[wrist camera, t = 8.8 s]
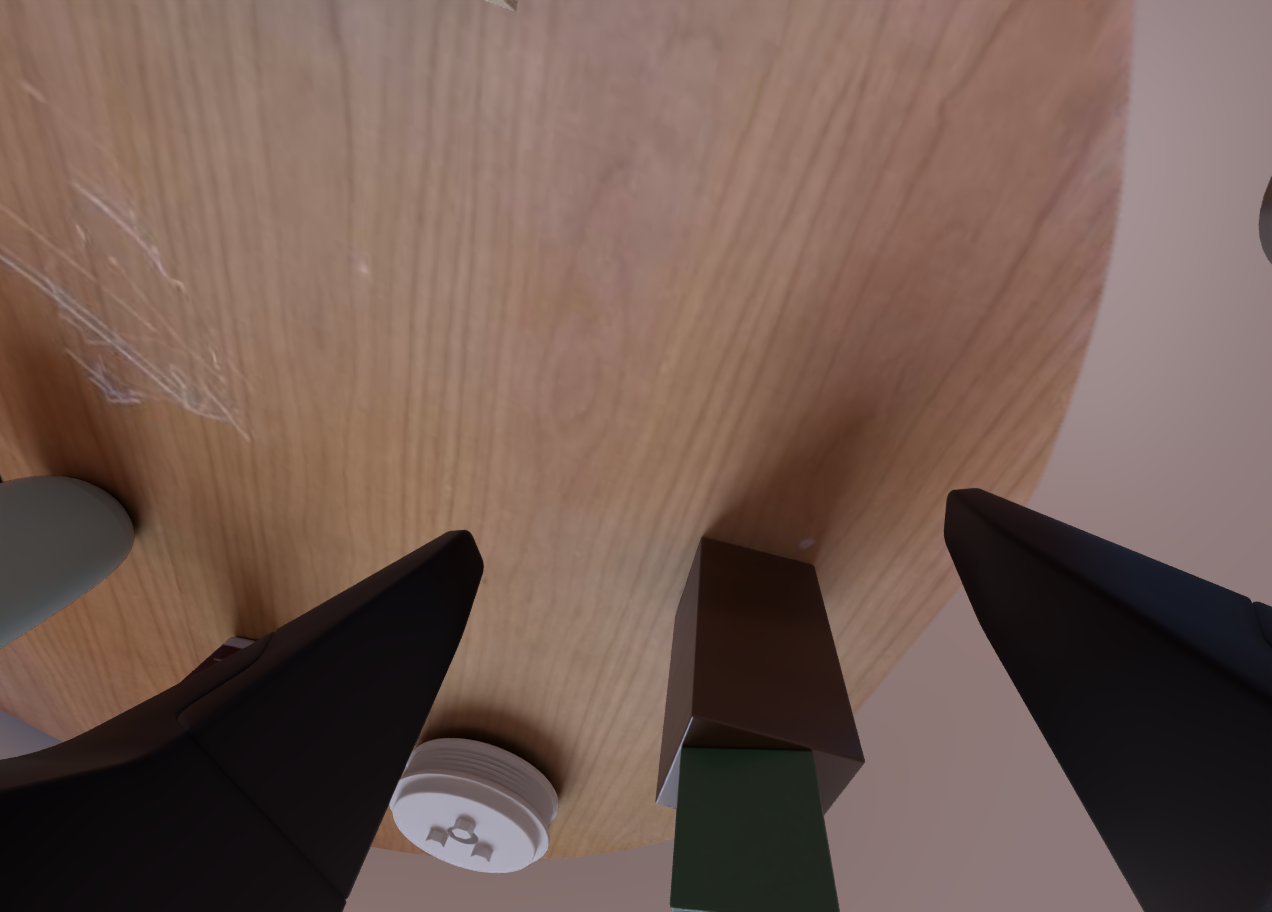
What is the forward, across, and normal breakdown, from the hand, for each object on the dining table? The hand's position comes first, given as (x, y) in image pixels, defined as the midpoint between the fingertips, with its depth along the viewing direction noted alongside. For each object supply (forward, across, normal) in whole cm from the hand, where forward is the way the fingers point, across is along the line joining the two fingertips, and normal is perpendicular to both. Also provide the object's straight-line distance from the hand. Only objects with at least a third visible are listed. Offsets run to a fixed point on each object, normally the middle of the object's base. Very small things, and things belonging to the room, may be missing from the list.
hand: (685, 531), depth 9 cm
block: (+3, 0, +14) cm, 14 cm away
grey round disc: (+13, +22, +32) cm, 41 cm away
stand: (+13, 0, +14) cm, 19 cm away
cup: (+13, +40, +4) cm, 42 cm away
